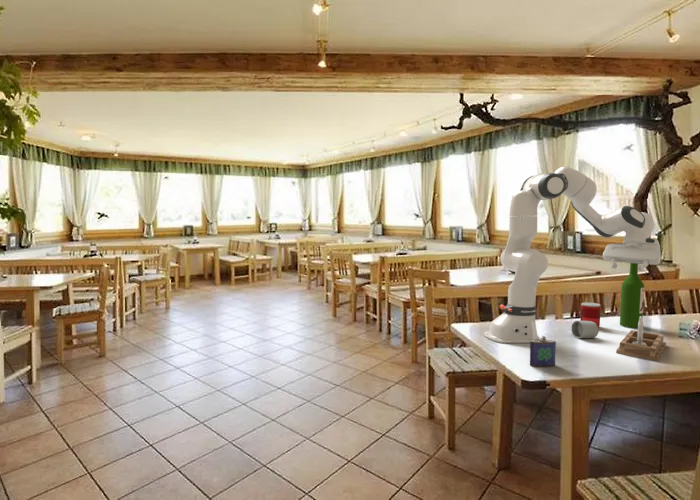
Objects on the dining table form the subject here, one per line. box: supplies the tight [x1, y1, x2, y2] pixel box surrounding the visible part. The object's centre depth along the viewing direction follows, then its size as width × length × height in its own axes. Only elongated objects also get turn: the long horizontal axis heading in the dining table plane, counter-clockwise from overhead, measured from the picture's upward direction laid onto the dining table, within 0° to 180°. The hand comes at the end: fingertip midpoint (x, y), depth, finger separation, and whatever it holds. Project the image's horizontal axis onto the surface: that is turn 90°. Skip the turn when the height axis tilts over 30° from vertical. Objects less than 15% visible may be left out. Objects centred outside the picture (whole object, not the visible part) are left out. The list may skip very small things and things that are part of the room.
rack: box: [615, 329, 667, 362], centre depth 164 cm, size 24×13×4 cm, turn 137°
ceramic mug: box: [570, 320, 600, 339], centre depth 181 cm, size 11×8×8 cm
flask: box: [529, 335, 557, 368], centre depth 146 cm, size 9×3×11 cm, turn 95°
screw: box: [632, 316, 647, 346], centre depth 159 cm, size 13×5×5 cm
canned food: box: [580, 301, 601, 329], centre depth 197 cm, size 8×8×11 cm
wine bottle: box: [619, 263, 645, 329], centre depth 196 cm, size 9×9×32 cm
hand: (626, 268), depth 171 cm, fingers open, 8 cm apart
